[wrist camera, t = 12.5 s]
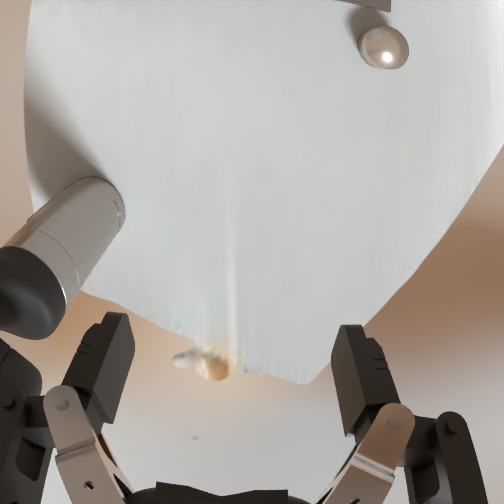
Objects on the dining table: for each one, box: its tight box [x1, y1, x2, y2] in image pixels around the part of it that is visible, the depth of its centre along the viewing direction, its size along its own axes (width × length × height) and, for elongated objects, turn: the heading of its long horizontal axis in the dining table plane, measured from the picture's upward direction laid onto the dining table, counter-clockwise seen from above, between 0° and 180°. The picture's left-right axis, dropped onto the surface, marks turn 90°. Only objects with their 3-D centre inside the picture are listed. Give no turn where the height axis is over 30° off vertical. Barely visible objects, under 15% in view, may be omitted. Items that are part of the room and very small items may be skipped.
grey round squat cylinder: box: [358, 26, 409, 69], centre depth 27 cm, size 5×5×3 cm
